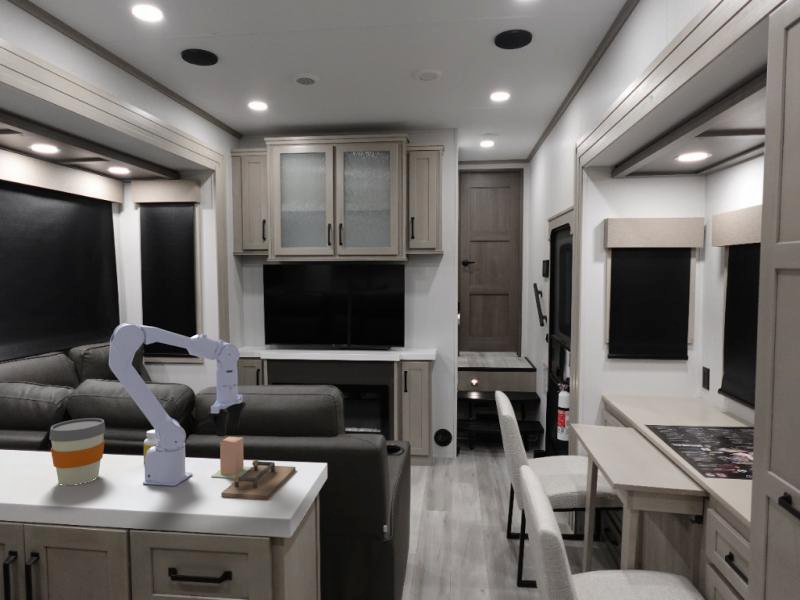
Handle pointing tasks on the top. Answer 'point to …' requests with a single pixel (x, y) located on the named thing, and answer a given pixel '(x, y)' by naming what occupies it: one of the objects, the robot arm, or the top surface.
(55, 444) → the reusable coffee cup
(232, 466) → the terracotta block
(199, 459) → the top surface
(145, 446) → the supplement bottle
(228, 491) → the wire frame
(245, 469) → the mat
